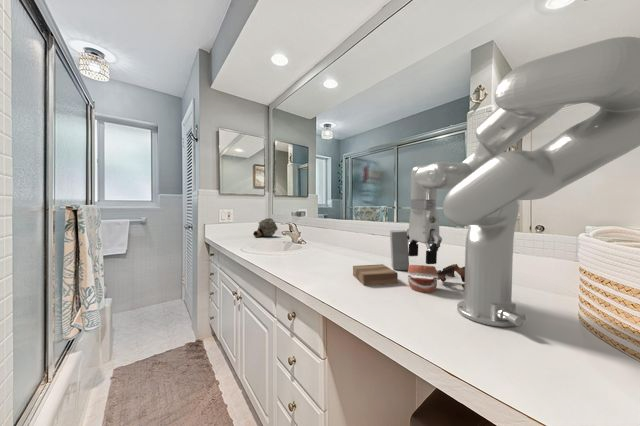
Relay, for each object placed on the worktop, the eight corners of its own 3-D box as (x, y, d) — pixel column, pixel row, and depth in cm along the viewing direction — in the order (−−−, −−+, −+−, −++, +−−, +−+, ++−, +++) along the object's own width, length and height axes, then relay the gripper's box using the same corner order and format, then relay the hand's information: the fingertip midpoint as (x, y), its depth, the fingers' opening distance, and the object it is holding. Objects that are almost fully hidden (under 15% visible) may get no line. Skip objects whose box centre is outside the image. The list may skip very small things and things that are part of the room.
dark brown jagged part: (461, 295, 75) (446, 270, 77) (440, 298, 83) (427, 275, 85) (486, 280, 79) (472, 256, 82) (464, 284, 88) (451, 263, 90)
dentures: (408, 292, 77) (408, 266, 76) (407, 284, 83) (407, 261, 83) (439, 295, 74) (440, 268, 74) (436, 287, 81) (436, 262, 81)
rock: (274, 215, 206) (259, 212, 194) (280, 228, 198) (265, 227, 187) (262, 229, 213) (247, 227, 202) (268, 242, 206) (252, 241, 194)
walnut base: (397, 284, 85) (397, 272, 85) (363, 286, 83) (363, 274, 83) (382, 274, 97) (382, 264, 96) (353, 276, 95) (352, 265, 94)
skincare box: (409, 271, 99) (409, 231, 99) (391, 270, 101) (391, 231, 100) (406, 265, 108) (406, 229, 107) (389, 265, 109) (389, 229, 108)
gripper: (453, 207, 70) (451, 266, 71) (418, 204, 87) (417, 253, 88) (429, 207, 69) (427, 268, 70) (398, 204, 86) (397, 253, 87)
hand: (421, 259), depth 79 cm, fingers open, 9 cm apart
